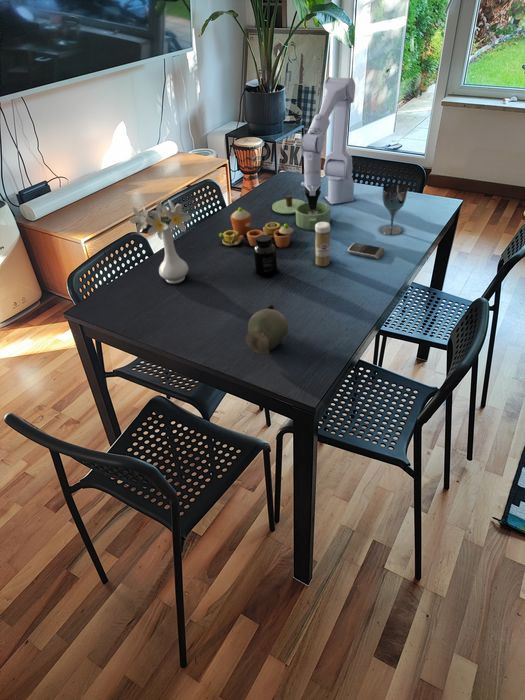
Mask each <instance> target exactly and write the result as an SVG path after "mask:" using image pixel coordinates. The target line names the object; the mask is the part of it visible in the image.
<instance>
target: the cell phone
mask: <svg viewBox="0 0 525 700" xmlns="http://www.w3.org/2000/svg"><path fill="white" fill-rule="evenodd" d="M347 253H348V254H349V255H354V256H359V257H365V258H368V259H369V258H370V259H374V260H378V259H380V258H381V257H383V255H384V253H385V248H384V247H381V246H375V245H370V244H365V243H359V242H354V243H352V244H351V245H350V247H348V249H347Z"/></svg>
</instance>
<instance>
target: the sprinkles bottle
mask: <svg viewBox="0 0 525 700" xmlns="http://www.w3.org/2000/svg"><path fill="white" fill-rule="evenodd" d="M314 232H315V261H314V262H315V265H316V266H319V267H326V266H328V265H330V251H331V250H330V245H331V244H330V241H331V239H330V232H331V224H329V223H327V222H319V223H317V224H316V225H315V230H314Z"/></svg>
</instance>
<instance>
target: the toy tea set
mask: <svg viewBox="0 0 525 700" xmlns="http://www.w3.org/2000/svg"><path fill="white" fill-rule="evenodd" d="M230 221H231V225H232V229H229V230H226V231H224V232H220V233H219V234H218V236H219V237H220V238H223V239H222V241H221V242H222V244H223V245H225V246H229V247H230V246H236V245H237V246H238V245H239V244H240V243H242V240H243V239H245V238H244V237H245V236H247V241H248V244H249V246H251V247H255V246H256V238H257V237H258V236H260V235H270V236H271V237H272V238H274V242H275V247H278V248H287V247H289V245H290V242H291V235H292V234H293V232H294V228H293V227H291V226H289V224H288V223H284V224H283V225H281V224H280V222H276V221H270V222H268V223H265V225H264V226H262V230H260V229H251V227H252V225H251V224H252V214H251V213H250V212H249V211H247V210H245V209H243V208H242V207H241V206H240V207H238V208H237V210H234V212H233V213H231V215H230Z"/></svg>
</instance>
